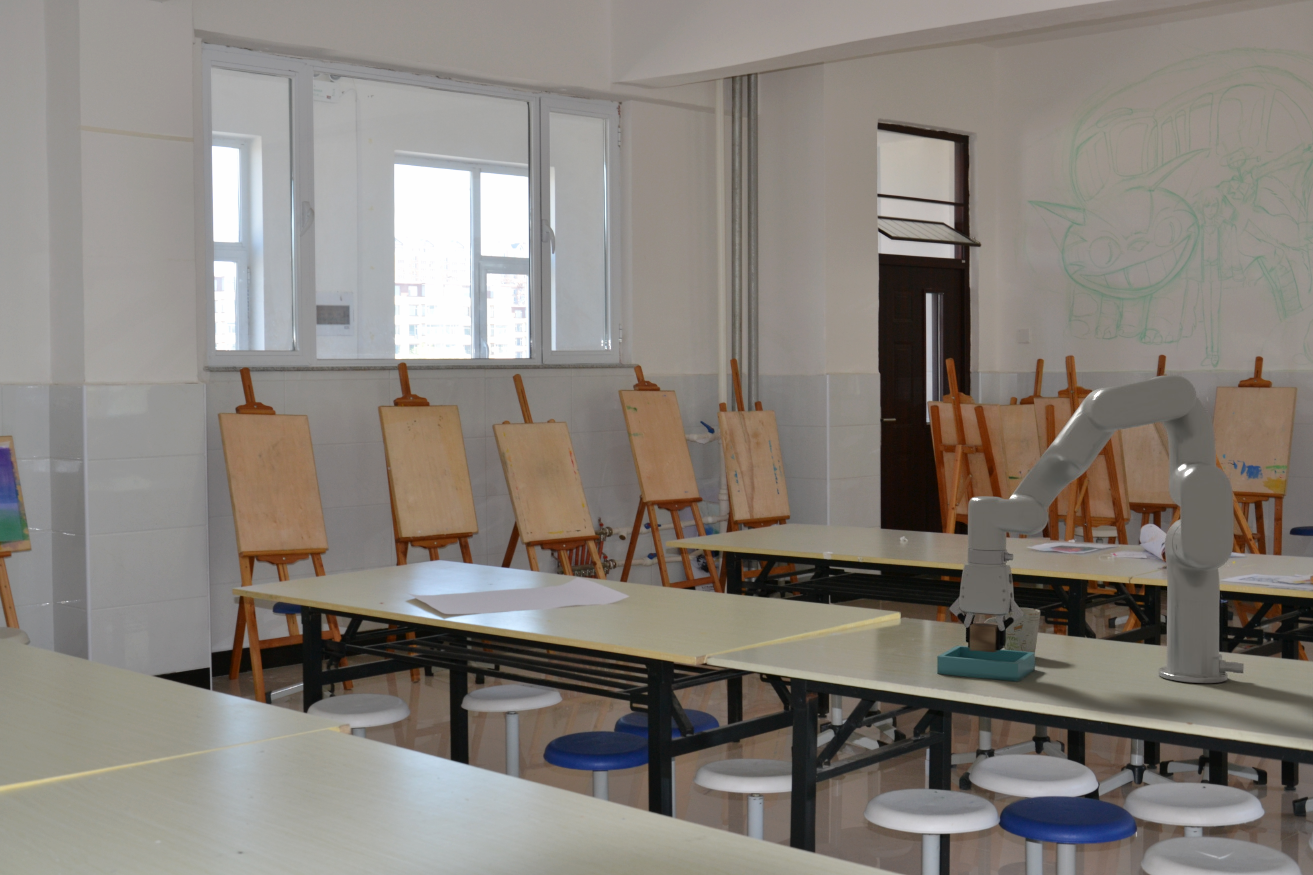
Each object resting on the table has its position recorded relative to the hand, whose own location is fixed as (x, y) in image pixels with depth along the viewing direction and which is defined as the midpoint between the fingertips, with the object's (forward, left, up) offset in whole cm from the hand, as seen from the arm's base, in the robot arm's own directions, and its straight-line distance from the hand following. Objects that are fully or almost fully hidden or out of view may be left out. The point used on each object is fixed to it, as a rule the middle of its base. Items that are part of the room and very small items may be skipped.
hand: (985, 646), depth 258 cm
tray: (0, 0, -5) cm, 5 cm away
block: (0, 0, -1) cm, 1 cm away
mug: (0, -19, -5) cm, 20 cm away
